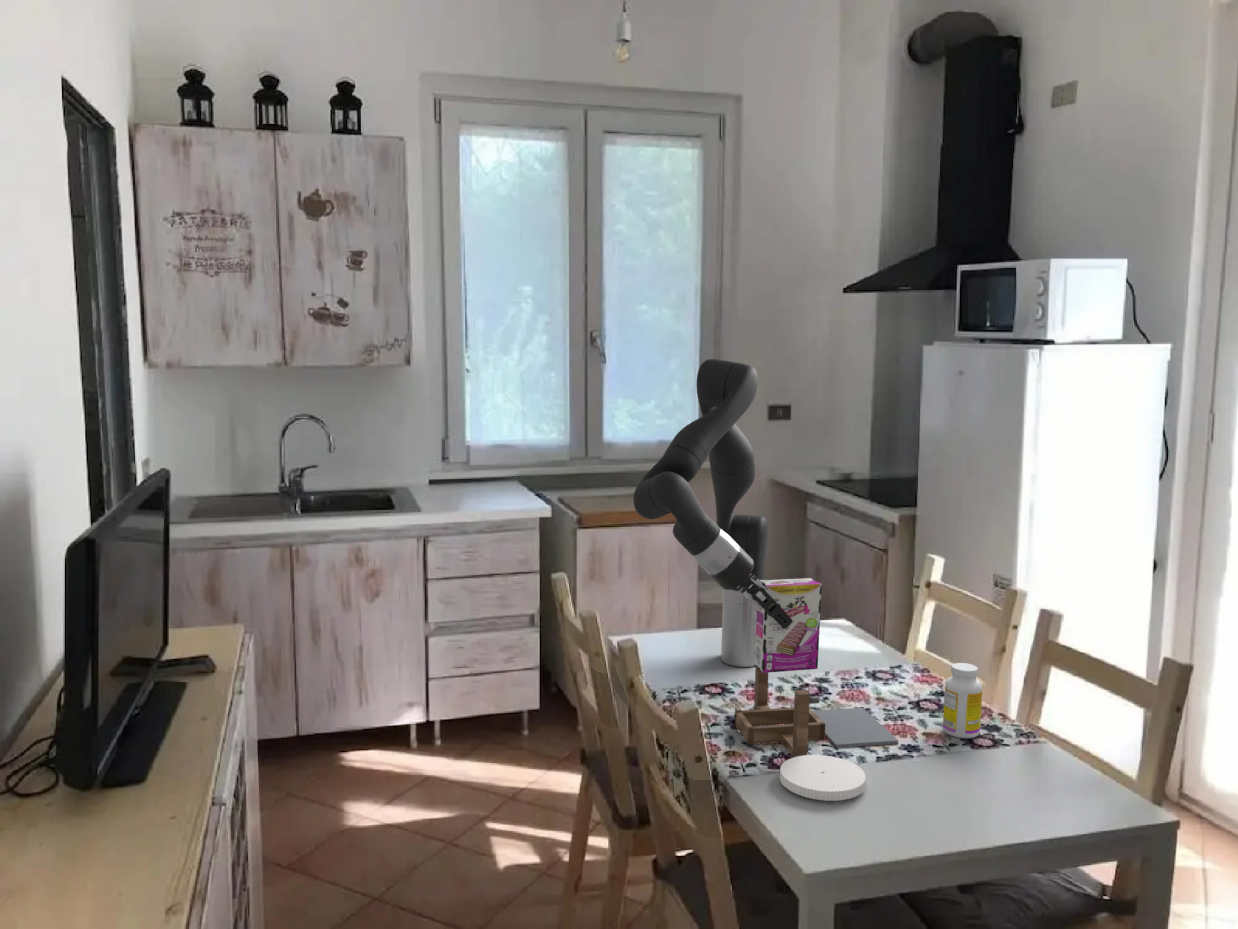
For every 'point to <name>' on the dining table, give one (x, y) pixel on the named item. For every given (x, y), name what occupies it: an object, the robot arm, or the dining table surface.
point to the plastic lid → (822, 777)
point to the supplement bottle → (962, 702)
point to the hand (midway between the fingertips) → (783, 619)
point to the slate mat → (853, 728)
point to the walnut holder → (780, 720)
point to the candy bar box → (789, 627)
